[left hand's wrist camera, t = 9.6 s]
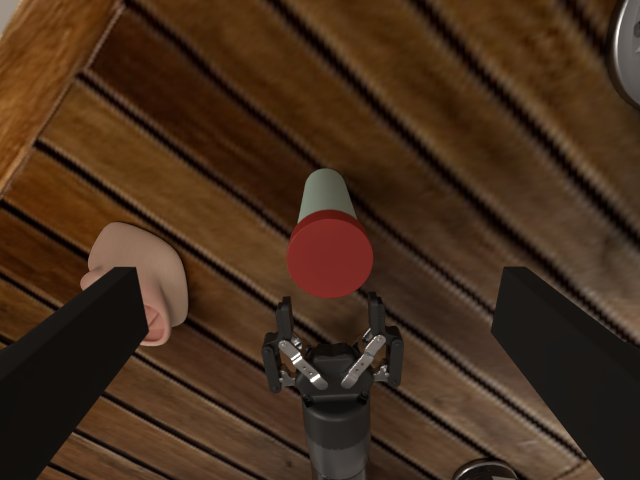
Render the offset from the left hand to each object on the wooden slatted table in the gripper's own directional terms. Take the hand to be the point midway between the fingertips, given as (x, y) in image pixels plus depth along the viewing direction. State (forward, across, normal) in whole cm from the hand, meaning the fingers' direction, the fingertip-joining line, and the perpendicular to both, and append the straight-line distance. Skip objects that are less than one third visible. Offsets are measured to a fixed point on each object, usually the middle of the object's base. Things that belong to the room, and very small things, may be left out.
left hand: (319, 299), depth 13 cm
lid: (+7, -1, +1) cm, 7 cm away
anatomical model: (+25, +21, +12) cm, 35 cm away
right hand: (+19, -1, +11) cm, 22 cm away
